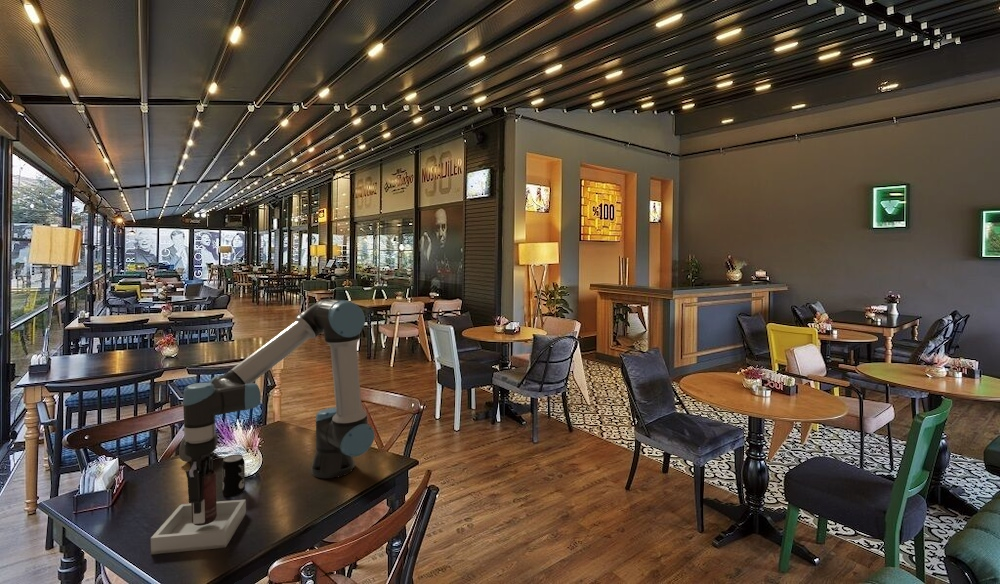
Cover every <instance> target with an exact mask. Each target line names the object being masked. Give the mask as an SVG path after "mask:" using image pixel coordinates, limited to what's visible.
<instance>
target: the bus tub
mask: <svg viewBox="0 0 1000 584" xmlns="http://www.w3.org/2000/svg"><path fill="white" fill-rule="evenodd" d="M216 508H217V516H216V518H215V520H214V521H213V522H211V523H209V524H206V525H201V526H197V525H194V524H193V523H192V507H191V503H182V504H179V506H177V508H176V509H175V510H174V511H173V512H172V513H171V514H170V516H169V517H168V518H167V519H166V520H165V521H164V522H163V523H162V525H160V527H159V528H158V529H157V530H156V532H154V534H153V535H152V536H151V537H150V555H159V554H160V555H161V554H169V553H170V554H171V553H180V552H181V553H182V552H190V551H192V552H193V551H202V550H203V551H205V550H211V549H212V550H215V549H223V548H224V549H226V547H227V546H228V544H229V543H230V541H231V540H232V537H233V536H234V535H235V533H236V531H237V529H238V527H239V526H240V525H241V523H242V521H243V520H244V519H245V516H246V515H247V500H246V499H236V500H235V499H233V500H232V499H231V500H222V501H216Z"/></svg>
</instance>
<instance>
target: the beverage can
mask: <svg viewBox="0 0 1000 584" xmlns="http://www.w3.org/2000/svg"><path fill="white" fill-rule="evenodd" d="M245 469H246V468H245V458H244V455H242V454H238V453H237V454H231V455H228V456H225V457H224V458H223V461H222V464H221V476H222V479H221V481H222V483H221V485H222V494H223V495H224V496H225V497H230V498H231V497H236V496H237V497H238V496H239V495H242V494H243V492H244V491H245V489H246V478H245V477H246V475H245V473H246V472H245Z"/></svg>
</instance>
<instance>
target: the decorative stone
mask: <svg viewBox="0 0 1000 584" xmlns="http://www.w3.org/2000/svg"><path fill="white" fill-rule="evenodd" d="M218 436H219V435H218V434H217V433H216V435H215V436H214V437H215V441H216V446H217V444H218V440H219V438H218ZM184 443H185V439H184V436H183V438H182V440H181V442H180V443H179V448H178V449H179V450H178V456H179V459H180V460H181V461H182V462H185V463H190V462H191V459H192V458H191V457H189V456H186V455H185V452H184Z"/></svg>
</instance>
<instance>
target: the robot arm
mask: <svg viewBox="0 0 1000 584" xmlns="http://www.w3.org/2000/svg"><path fill="white" fill-rule="evenodd" d="M365 324H366V316H365V313H364V311H363V309H362V308H361V307H360V306H359V305H358V304H356V303H355V302H352V301H349V300H346V299H344V300H343V299H335V298H325V299H321V300H319V301H317V302H315V303H314V304H312V305H310V306H308V308H306V309H305V310H304V311H302V312H301V313H300V314H299V315H297V316H295V321H294V322H293V323H291V324H290V325H288V326H287V327H286V328H285V329H283V330H281V332H279V333H277V334H276V335H275V336H273V338H271V339H270V340H269V341H267V342H266V343H264V344H263V345H262V346H260V347H259V348H258V349H256V350H255V351H253V352H252V353H251V354H250V355H249V356H247V357H246V358H245V359H243V360H242V361H241V362H239V363H238V364H237V365H235V366H234V367H232V368H231V369H230V370H229V371H227V372H225V373H224V374H219V375H217V376H216V375H215V376H214V377H212V378H211V379H210V380H209V381H208V382H197V383H192V384H189V385H187V386H185V388H184V389H183V397H182V399H183V400H182V408H183V410H182V411H183V428H181V429H182V432H183V437H184V439H185V443H184V452H185V455H186V456H189V457H191V458H192V459H191V462H189V467H190V469H188V470H186V473H185V475H186V478H187V491H188V492H187V493H188V504H191V503H193V524H199V523H204V522H205V501H204V499H203V483H204V476H205V475H207V474H208V472H209V470H213V471H214V456H215V454H214V452H215V450H216V449H217V445H216V441H215V437H214V436H215V435H216V434H217V432H216V416H219V415H225V414H231V413H235V412H236V413H237V412H242V411H248V410H251V409H255V408H257V407H258V406H259V405H260V404H261V398H262V397H261V389H260V386H259V385H258V384H257V383H255V381H257V380H259V378H260V377H262V376H263V375H265V374H266V373H267V372H268V371H269V370H270V369H272V368H273V367H275V366H276V365H277V364H278V363H280V362H281V361H282V360H284V359H286V357H287V356H288V355H290V354H291V353H293V352H294V351H295V350H296V349H298V348H299V347H301V346H302V345H303V344H304V343H305V342H307V341H308V340H309V339H315V338H316V337H318V336H319V335H321V334H324V335H323V336H324V342H325V344H327V345H329V349H330V359H331V368H332V378H333V379H332V380H333V388H334V390H333V391H334V392H333V393H334V398H335V399H334V400H335V407H329V408H324V409H321V410H319V411H317V413H316V417H315V443H316V448H315V449H316V450H315V455H314V458H313V461H312V463H311V471H310V472H311V475H312V476H313V477H315V478H318V479H335V478H334V477H337V478H339V477H338V476H341V475H344V474H347V473H349V472H350V471H351V470H352V469H353V468H354V469H355V460H354V458H355V457H360V456H362V455H364V454H366V453H367V452H368V451H369V450H370V447H372V445H373V444H374V440H375V431H374V429H373V427H372V426H371V425H370V424H369V423H368V414H367V413H368V412H367V411H366V410H364V409H363V407H362V405H363V404H362V393H361V384H360V382H361V381H360V372H359V371H360V369H359V359H358V358H359V357H358V349H357V348H358V346H357V343H359V341H360V339H361V332H362V330H363V329H364V328H365ZM350 473H351V472H350ZM350 473H349V474H350ZM347 475H348V474H347ZM344 476H345V475H344ZM341 477H342V476H341Z"/></svg>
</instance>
